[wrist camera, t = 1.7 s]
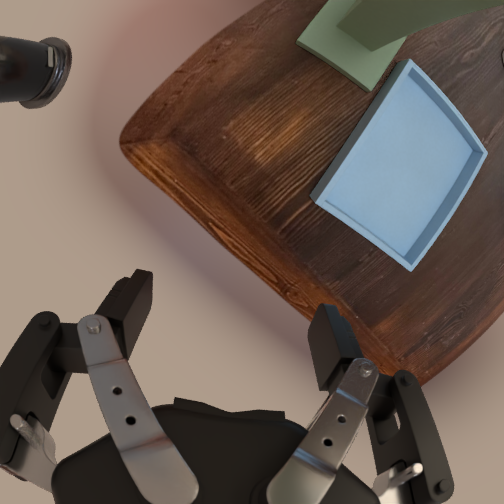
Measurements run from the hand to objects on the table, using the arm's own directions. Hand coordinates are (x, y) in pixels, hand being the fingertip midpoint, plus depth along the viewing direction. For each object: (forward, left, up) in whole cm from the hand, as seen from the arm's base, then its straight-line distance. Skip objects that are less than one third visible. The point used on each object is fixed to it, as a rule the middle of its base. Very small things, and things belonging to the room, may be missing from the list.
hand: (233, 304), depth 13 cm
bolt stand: (+1, +25, -21) cm, 32 cm away
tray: (+16, +15, -21) cm, 30 cm away
